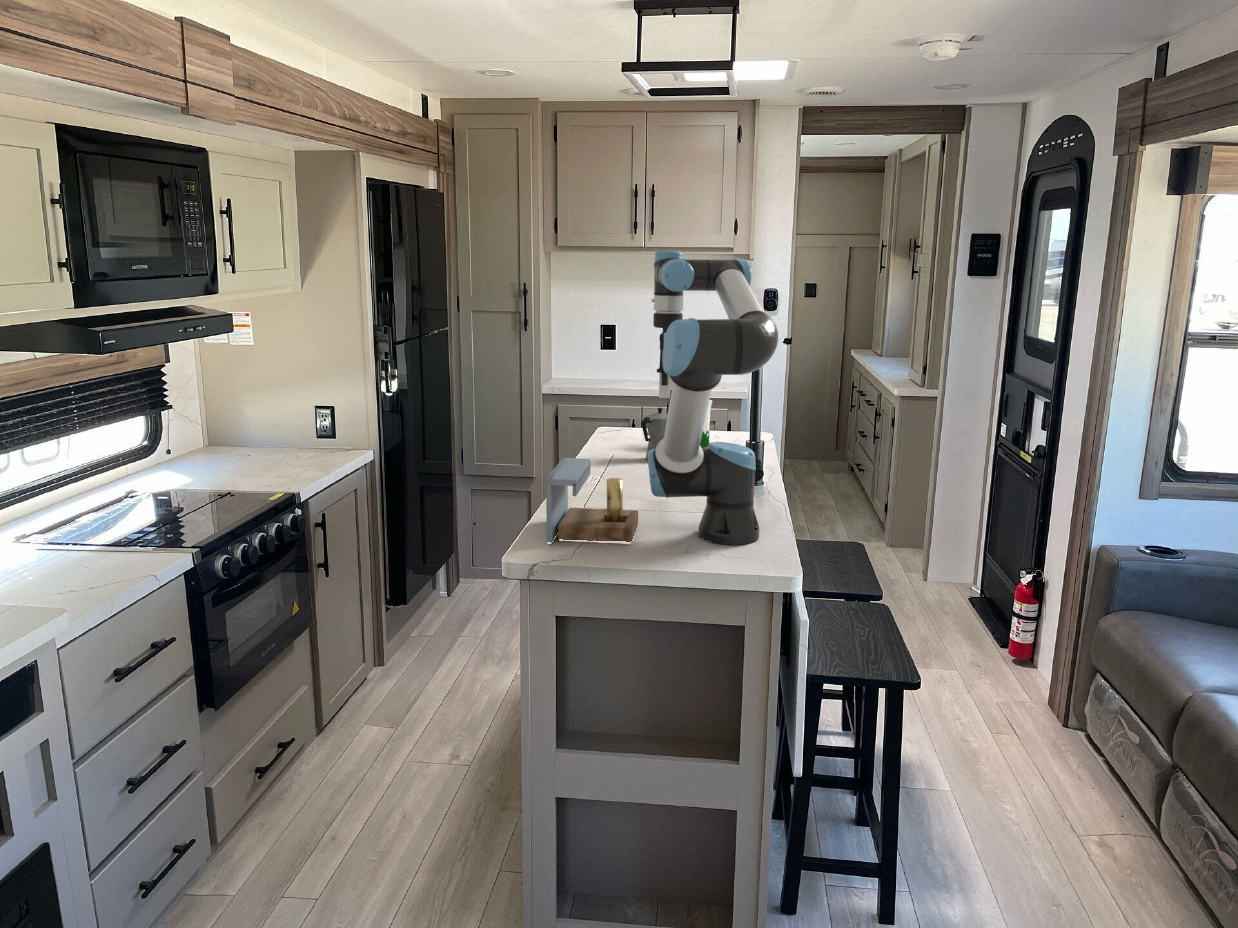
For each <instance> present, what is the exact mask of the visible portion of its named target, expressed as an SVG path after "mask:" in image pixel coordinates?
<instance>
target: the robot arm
mask: <svg viewBox="0 0 1238 928" xmlns="http://www.w3.org/2000/svg"><path fill="white" fill-rule="evenodd" d="M653 267H654V275H653V278H654V282H653V285H654V289H653V297H654V298H651V303H653V310H654V311H655V312H654V313H653V319H652V320H653V327H654V328H657V329H662V332H661V333H660V334H659V350H660V352H659V353H660V354H659V367H658V368H657V369H656V373H658V374H659V375H658V376H659V380H658V398H659V399H670V401H669V406H668V411H667V414H668V417H667V423H666V429H665V435H664V439H662V440H661V441H660V442H659V443H658V445H657V447H656V449H653V450H649V451H648V461H647V465H648V476H649V483H650V484H649V485H650V491H651V494H652V495H653V496H655V497H657V498H659V497H660V498H667V499H668V498H684V497H685V498H690V497H693V498H694V497H706V506H705V508H704V510H703V513H702V516H701V519H700V522H699V525H698V536H699V538H701V539H702V538H703V539H702V540H704V541H706V540H708V541H707V542H709V541H712V542H711V543H713V542H714V544H718V543H721V544H720V545H731V546H735V545H746V544H750V543H751V544H752V543H755V542H757V540H759V538H760V525H759V522H758V519H757V515H756V512H755V509H754V508H755V507H754V503H755V501H754V498H755V482H756V481H755V479H756V478H755V477H756V470H757V467H756V455H755V452H754V451H753V450H752V449H751V448H749V447H747V446H744V445H741V444H737V443H732V442H726V441H725V442H724V441H712V442H709V445H708V449H702V448H701V446H700V441H701V437H702V432H703V427H704V423H705V418H706V413H707V408H708V404H709V399H710V398H711V393H712V390H713V389H716V387H717V386H718V385H720V383H721V381H722V377H723V376H731V375H732V376H738V375H739V376H741V375H747V374H750V373H753V372H755V371H758V370H759V369H761V368H762V367H764V366H765V365H766V364H767V363H768V362H769V361H770V359H771V358H772V357H773V355H774V354H775V352H776V349H777V348H778V344H779V331H778V327H777V324H776V323H775V321H774V319H773V318H772V316H771V315H770V314H768V313H767V312H766V311H764V310H763V309H762V307H761V305H760V303H759V301H758V300H757V298H756V296H755V294H754V292H753V291H752V289H751V285H752V284H751V282H752V274H753V273H752V267H751V264H750V262H749V260H745V259H736V258H733V259H695V258H693V259H690V258H688V259H687V258H685V253H684V252H683V251H682V250H657V251H656V252H655V253H654V261H653ZM685 291H687V292H689V291H691V292H692V291H693V292H694V291H696V292H697V291H699V292H701V291H702V292H703V291H706V292H707V291H708V292H713V291H715V292H716V293H717V295H718V297H719V299H720V302H721V304H722V306H723V308H724V311H725V313H726V316H727V318H723V319H722V318H720V319H719V318H717V319H713V318H712V319H709V318H708V319H696V318H694V317H690V318H684V317H683V316H684V315H683V313H682V311H683V310H684V292H685ZM710 400H711V399H710Z"/></svg>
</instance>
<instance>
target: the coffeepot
mask: <svg viewBox="0 0 1238 928" xmlns="http://www.w3.org/2000/svg"><path fill="white" fill-rule="evenodd" d="M667 417H668V413H663V407H657V413H652V414H648V415H646V416H645V417H644V418H643V419H642V421H641V429H642V432H643V436H644V440H645V442H648V444H647V449H646V454H645V460H646V462H648V451H649V450H653V449H656V447H657V445H658V443H659V442H660V441H661V440H662V439H664V435H665V429H666V423H667Z"/></svg>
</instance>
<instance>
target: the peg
mask: <svg viewBox="0 0 1238 928" xmlns="http://www.w3.org/2000/svg"><path fill="white" fill-rule="evenodd" d="M623 499H624V480H623V478H619V477H611V478H607V479H606V509H607V522H620V523H623V510H624V508H623V507H624V501H623Z"/></svg>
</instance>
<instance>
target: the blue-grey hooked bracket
mask: <svg viewBox="0 0 1238 928" xmlns="http://www.w3.org/2000/svg"><path fill="white" fill-rule="evenodd" d="M590 475H591V458H577V457H576V458H571V457H563V458H562V459H561V460H560V461H559V462H558V464H557V465H556V466H555V468H553V470H552V471H551V472H550V473H549V474H548V476H547V477H546V478H545V491H546V492H545V494H546V495H545V497H546V499H545V500H546V502H545V504H546V506H545V507H546V508H545V510H546V512H545V513H546V517H545V518H546V519H545V520H546V543H547V542H551V543H552V541H553V540H554V538H555V536H556V535H557V533H558V525H559V523H560V522H561V520H562V519H563V517H564V515H565V514H566V512H567V511H568V509H569V493H568V492H569V487H572V497H577V496H578V494H579V492H580V491H581V489H582V488H583V486H584V484H585V483H586V481H587V480H588V478H589V477H590ZM554 541H555V540H554Z"/></svg>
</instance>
